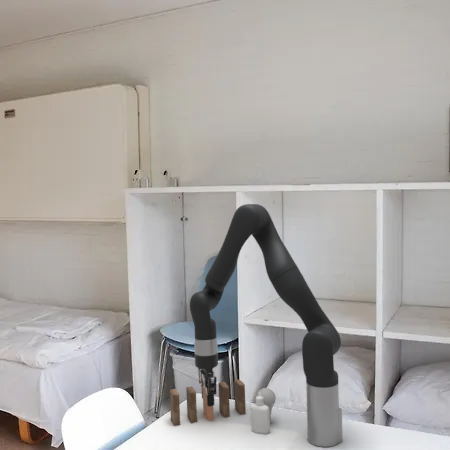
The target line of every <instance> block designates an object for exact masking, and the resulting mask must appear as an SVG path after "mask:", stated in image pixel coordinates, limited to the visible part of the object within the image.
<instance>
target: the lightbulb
mask: <svg viewBox="0 0 450 450" xmlns="http://www.w3.org/2000/svg"><path fill="white" fill-rule="evenodd" d="M259 392H260V393H261V396H263V397H264V404H265V405H266V406H268V407H269V416H270V421H271V420H272V419H271V418H272V417H271V415H272V410H273V407H274V405H275V403H276V400H277V397H276V394H275V392H274V390H272V389H271V388H270V387H269V388H267V387H263V388H261V389H259V390H257V393H256V397H257V396H258V393H259ZM256 397H255V398H256Z"/></svg>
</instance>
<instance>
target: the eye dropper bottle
mask: <svg viewBox="0 0 450 450" xmlns="http://www.w3.org/2000/svg"><path fill="white" fill-rule="evenodd" d="M257 393H258V392H257ZM256 396H257V395H256ZM270 422H271V420H270V416H269V407H268V406H266V405H265V404H264V397H263V396H261V393H260V392H259V393H258V396H257V397H255V403H254V404H252V405H251V406H250V431H251V432H253V433H256V434H261V435H262V434H263V435H265V434H266V435H267V434H268V433H269V432H271V423H270Z"/></svg>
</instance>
